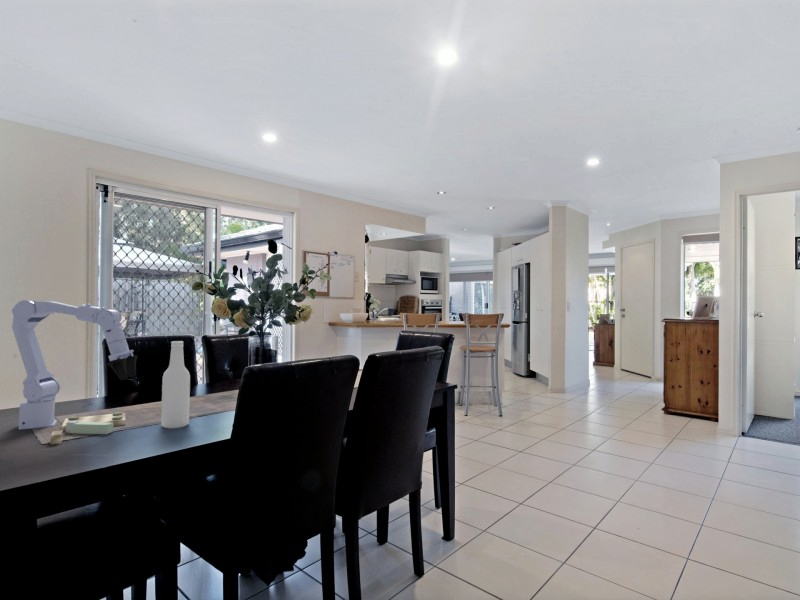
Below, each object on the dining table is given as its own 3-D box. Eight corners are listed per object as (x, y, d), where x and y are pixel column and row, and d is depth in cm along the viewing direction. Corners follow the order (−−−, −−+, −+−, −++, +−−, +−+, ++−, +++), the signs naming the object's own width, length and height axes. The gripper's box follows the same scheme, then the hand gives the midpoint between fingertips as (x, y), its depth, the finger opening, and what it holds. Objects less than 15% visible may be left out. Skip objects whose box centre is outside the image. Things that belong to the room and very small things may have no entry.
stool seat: (50, 445, 131) (50, 435, 131) (61, 424, 153) (61, 416, 154) (125, 436, 141) (125, 426, 141) (125, 417, 164) (125, 409, 164)
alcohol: (156, 429, 150) (158, 342, 150) (168, 422, 158) (170, 340, 159) (182, 429, 150) (184, 342, 151) (193, 422, 159) (195, 340, 159)
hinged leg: (63, 433, 142) (63, 423, 142) (71, 430, 146) (71, 420, 146) (106, 434, 142) (106, 424, 142) (113, 431, 145) (113, 421, 145)
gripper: (119, 339, 149) (131, 376, 149) (136, 337, 163) (148, 371, 163) (97, 345, 147) (110, 383, 148) (116, 343, 162) (128, 378, 162)
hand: (128, 377), depth 155 cm, fingers open, 7 cm apart
